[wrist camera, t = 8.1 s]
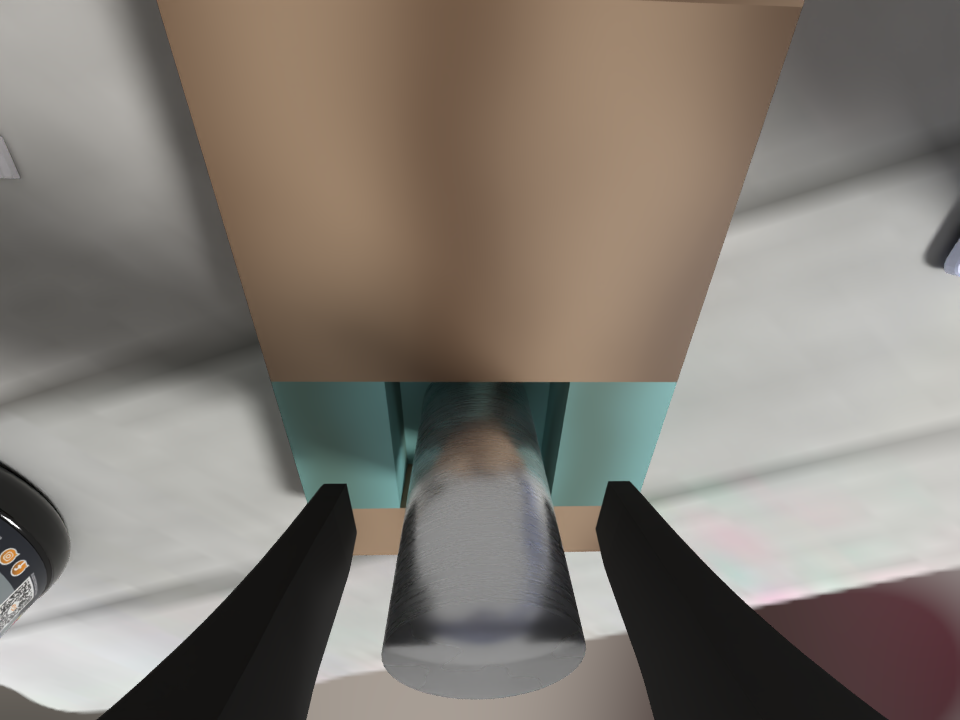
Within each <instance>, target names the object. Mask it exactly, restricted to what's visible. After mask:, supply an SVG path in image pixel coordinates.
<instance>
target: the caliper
mask: <svg viewBox="0 0 960 720" xmlns="http://www.w3.org/2000/svg"><path fill="white" fill-rule="evenodd" d="M0 178H11V179H19V178H20V176H19V174H18V171H17V169H16V167H15V165H14V162H13V160H12V158H11V155H10V153H9V151H8V149H7V146H6V144H5V142H4V139H3V137H2V136H0Z"/></svg>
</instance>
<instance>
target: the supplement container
mask: <svg viewBox="0 0 960 720" xmlns="http://www.w3.org/2000/svg"><path fill="white" fill-rule="evenodd" d="M69 556H70V539H69V536H68V532H67V529H66V527H65V525H64V523H63V521H62V519H61V517H60V516H59V514H58V513H57V512H56V510H55V509H54V508H53V507H52V505H51V504H50V503H49V502H48V501H47V500H46V499H45V498H44V497H43V496H42V495H41V494H40V493H39V492H38V491H36V490H35V489H34V488H33V487H31V486H30V485H29V484H28V483H26V482H25V481H23V480H22V479H20V478H19V477H17V476H16V475H14V474H13V473H11V472H9V471H8V470H6V469H4V468H3V467H1V466H0V638H1V637H2V636H3V635H4V633H5V632H6V631H7V630H8V629H9V628H10V627H11V626H12V625H13V624H14V623H15V622H16V621H17V620H18V619H19V618H20V617H21V615H22V614H23V613H24V612H25V611H26V610H27V609H28V608H29V607H30V606H31V605H32V604H33V603H34V602H35V601H36V600H37V599H38V598H40V597H41V596H42V595H44V594H45V593H46V592H47V591H48V590H49V589H50V588H51V586H52V585H53V584H54V583H55V582H56V581H57V580H58V578H59V577H60V575H61V574H62V572H63V571H64V569H65V567H66V565H67V562H68V559H69Z"/></svg>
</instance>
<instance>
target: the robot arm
mask: <svg viewBox="0 0 960 720" xmlns="http://www.w3.org/2000/svg"><path fill="white" fill-rule="evenodd" d="M944 270H945V272H946V273H948V274H952V275H956V276H959V277H960V238H959V240H958V241H957V243H956V244H955V246H954V247H953V249H952V251H951V252H950V254H949V255H948V257H947V258H946V261H945V263H944ZM595 529H596V534H597V538H598V543H599V547H600V551H601V555H602V559H603V563H604V567H605V570H606V573H607V576H608V579H609V582H610V585H611V588H612V590H613V593H614V596H615V599H616V602H617V605H618V607H619V610H620V613H621V616H622V618H623V621H624V624H625V627H626V630H627V632H628V635H629V638H630V641H631V644H632V646H633V649H634V652H635V655H636V657H637V660H638V663H639V667H640V670H641V673H642V676H643V679H644V683H645V686H646V690H647V694H648V697H649V701H650V705H651V709H652V712H653V716H654V719H655V720H888V719H887V718H885V717H884V716H882V715H881V714H880V713H878V712H877V711H876V710H874V709H873V708H872V707H870V706H869V705H868V704H867V703H865V702H864V701H863V700H861V699H860V698H859V697H857V696H856V695H855V694H853V693H852V692H851V691H850V690H848V689H847V688H846V687H845V686H843V685H842V684H841V683H840V682H838V681H837V680H836V679H835V678H833V677H832V676H831V675H830V674H828V673H827V672H826V671H825V670H823V669H822V668H821V667H820V666H818V665H817V664H815V663H814V662H813V661H812V660H811V659H809V658H808V657H807V656H806V655H804V654H803V653H802V652H801V651H800V650H799V649H797V648H796V647H795V646H793V645H792V644H791V643H790V642H789V641H788V640H787V639H785V638H784V637H783V636H782V635H781V634H780V633H779V632H777V631H776V630H775V629H774V628H773V627H772V626H771V625H769V624H768V623H767V622H766V621H765V620H764V619H763V618H762V617H760V616H759V615H758V614H757V613H756V612H755V611H754V610H753V609H751V608H750V607H749V606H748V605H747V604H746V603H745V602H744V601H743V600H742V599H741V598H740V597H739V596H738V595H737V594H735V593H734V592H733V591H732V590H731V589H730V588H729V587H728V586H727V585H726V584H725V583H724V582H723V581H722V580H721V579H720V578H719V577H718V576H717V575H716V574H715V573H714V572H713V571H712V570H711V569H710V568H709V567H708V566H707V565H706V564H705V563H704V562H703V561H702V560H701V559H700V558H699V557H698V556H697V554H696V553H695V552H694V551H693V550H692V549H691V548H690V547H689V546H688V545H687V544H686V543H685V542H684V541H683V540H682V539H681V538H680V536H679V535H678V534H677V533H676V532H675V531H674V530H673V529H672V528H671V527H670V526H669V524H668V523H667V522H666V521H665V520H664V519H663V518H662V517H661V515H660V514H659V513H658V512H657V511H656V510H655V509H654V508H653V506H652V505H651V504H650V503H649V502H648V501H647V500H646V498H645V497H644V496H643V495H642V494H641V493H640V492H639V491H638V489H637V488H636V487H635V486H634V485H633V484H632V483H631V482H630V481H608V484H607V487H606V491H605V495H604V499H603V502H602V506H601V510H600V513H599V517H598V521H597V525H596V528H595ZM356 536H357V529H356V524H355V520H354V515H353V511H352V506H351V501H350V497H349V492H348V487H347V483H345V484H323V485H322V486H321V487H320V488H319V489H318V491H317V492H316V493H315V494H314V496H313V497H312V498H311V500H310V501H309V502H308V503H307V505H306V506H305V507H304V509H303V510H302V511H301V512H300V514H299V515H298V516H297V517H296V519H295V520H294V521H293V522H292V524H291V525H290V526H289V527H288V529H287V530H286V531H285V532H284V533H283V535H282V536H281V537H280V538H279V539H278V541H277V542H276V543H275V544H274V545H273V546H272V548H271V549H270V550H269V551H268V552H267V554H266V555H265V556H264V557H263V558H262V559H261V561H260V562H259V563H258V564H257V565H256V566H255V567H254V569H253V570H252V571H251V572H250V573H249V574H248V575H247V576H246V577H245V578H244V580H243V581H242V582H241V583H240V584H239V585H238V586H237V587H236V588H235V589H234V590H233V592H232V593H231V594H230V595H229V596H228V597H227V598H226V599H225V600H224V601H223V602H222V603H221V604H220V605H219V606H218V607H217V609H216V610H215V611H214V612H213V613H212V614H211V615H210V616H209V617H208V618H207V619H206V620H205V621H204V622H203V623H202V624H201V625H200V626H199V627H198V628H197V629H196V630H195V631H194V632H193V633H192V634H191V635H190V636H189V637H188V638H187V639H186V640H184V641H183V642H182V643H181V644H180V645H179V646H178V647H177V648H176V649H175V650H174V651H173V652H172V653H171V654H170V655H169V656H168V657H166V658H165V659H164V660H163V661H162V662H161V663H160V664H159V665H158V666H157V667H156V668H155V669H154V670H152V671H151V672H150V673H149V674H148V675H147V676H146V677H145V678H144V679H143V680H142V681H141V682H139V683H138V684H137V685H136V686H135V687H134V688H133V689H132V690H130V691H129V692H128V693H127V694H126V695H125V696H124V697H123V698H121V699H120V700H119V701H118V702H117V703H116V704H115V705H113V706H112V707H111V708H110V709H109V710H107V711H106V712H105V713H104V714H103V715H102V716H101V717H99V718H98V719H97V720H306V718H307V714H308V710H309V705H310V701H311V697H312V692H313V689H314V685H315V681H316V678H317V674H318V671H319V667H320V664H321V661H322V657H323V654H324V651H325V648H326V645H327V642H328V638H329V635H330V632H331V629H332V626H333V623H334V619H335V616H336V613H337V610H338V607H339V604H340V600H341V597H342V594H343V591H344V587H345V584H346V581H347V578H348V574H349V571H350V566H351V561H352V556H353V551H354V546H355V541H356Z"/></svg>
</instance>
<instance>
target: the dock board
mask: <svg viewBox="0 0 960 720" xmlns="http://www.w3.org/2000/svg"><path fill="white" fill-rule="evenodd" d="M804 1H805V0H157V4H158V7H159V10H160V14H161V17H162V20H163V24H164V27H165V30H166V34H167V37H168V40H169V44H170V47H171V50H172V54H173V57H174V60H175V64H176V67H177V70H178V74H179V77H180V80H181V84H182V87H183V90H184V94H185V97H186V100H187V104H188V107H189V110H190V114H191V117H192V120H193V124H194V127H195V130H196V134H197V137H198V140H199V143H200V147H201V150H202V153H203V157H204V160H205V163H206V167H207V170H208V173H209V177H210V180H211V183H212V187H213V190H214V193H215V197H216V200H217V203H218V207H219V210H220V213H221V217H222V220H223V223H224V227H225V230H226V233H227V237H228V240H229V243H230V247H231V250H232V253H233V257H234V260H235V263H236V267H237V270H238V273H239V277H240V280H241V283H242V287H243V290H244V293H245V297H246V300H247V303H248V307H249V310H250V313H251V317H252V320H253V323H254V327H255V330H256V333H257V337H258V340H259V343H260V347H261V350H262V353H263V357H264V360H265V363H266V367H267V370H268V373H269V377H270V380H271V383H272V387H273V390H274V393H275V397H276V400H277V403H278V407H279V410H280V413H281V417H282V420H283V423H284V427H285V430H286V433H287V437H288V440H289V443H290V447H291V450H292V453H293V456H294V460H295V463H296V466H297V470H298V473H299V476H300V480H301V483H302V486H303V490H304V493H305V496H306V500H307V503H308V502H309V501H310V500H311V498H312V497H313V496H314V494H315V493H316V492H317V491H318V489H319V488H320V487H321V486H322V485H323V484H345V483H347V487H348V492H349V497H350V501H351V506H352V511H353V515H354V520H355V524H356V529H357V536H356V541H355V546H354V551H353V555H398V551H399V545H400V539H401V533H402V527H403V521H404V515H405V509H406V503H407V496H408V490H409V484H410V478H411V472H412V466H413V460H414V454H415V448H416V442H417V436H418V430H419V424H420V418H421V411H422V405H423V400H424V395H425V393H426V390H427V389H428V387H429V385H430V384H431V383H432V382H521V384H522V385H523V387H524V389H525V391H526V393H527V397H528V401H529V405H530V409H531V414H532V418H533V422H534V426H535V431H536V435H537V439H538V443H539V448H540V452H541V456H542V460H543V465H544V469H545V473H546V477H547V482H548V486H549V490H550V494H551V499H552V503H553V507H554V511H555V516H556V520H557V524H558V528H559V533H560V537H561V541H562V546H563V550H564V552H586V551H600V547H599V543H598V538H597V534H596V529H595V528H596V525H597V521H598V517H599V513H600V510H601V506H602V502H603V499H604V495H605V491H606V487H607V484H608V481H630V482H631V483H632V484H633V485H634V486H635V487H636V488H637V489H638V491H639V492H640V491H641V488H642V485H643V482H644V479H645V476H646V473H647V470H648V467H649V464H650V461H651V458H652V455H653V452H654V449H655V446H656V443H657V440H658V437H659V434H660V431H661V428H662V425H663V422H664V419H665V416H666V413H667V410H668V407H669V404H670V401H671V398H672V395H673V392H674V389H675V386H676V383H677V380H678V377H679V374H680V371H681V368H682V365H683V362H684V359H685V356H686V353H687V350H688V347H689V344H690V342H691V339H692V336H693V333H694V330H695V327H696V324H697V321H698V318H699V315H700V312H701V309H702V306H703V303H704V300H705V297H706V294H707V291H708V288H709V285H710V282H711V279H712V276H713V273H714V270H715V267H716V264H717V261H718V258H719V255H720V252H721V249H722V246H723V243H724V240H725V237H726V234H727V231H728V228H729V225H730V222H731V219H732V216H733V213H734V210H735V207H736V204H737V201H738V198H739V195H740V192H741V189H742V186H743V183H744V180H745V177H746V174H747V171H748V168H749V165H750V162H751V159H752V156H753V153H754V150H755V147H756V144H757V141H758V138H759V135H760V132H761V129H762V126H763V123H764V120H765V117H766V114H767V111H768V109H769V106H770V103H771V100H772V97H773V94H774V91H775V88H776V85H777V82H778V79H779V76H780V73H781V70H782V67H783V64H784V61H785V58H786V55H787V52H788V49H789V46H790V43H791V40H792V37H793V34H794V31H795V28H796V25H797V22H798V19H799V16H800V13H801V10H802V7H803V4H804Z"/></svg>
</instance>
